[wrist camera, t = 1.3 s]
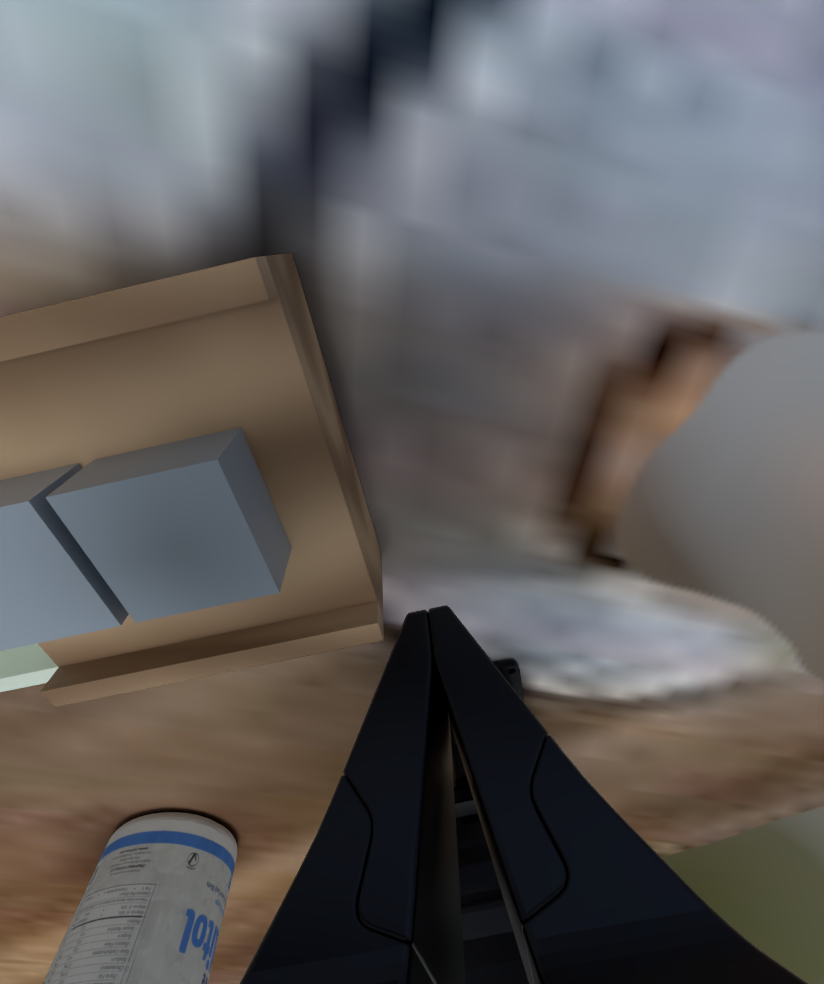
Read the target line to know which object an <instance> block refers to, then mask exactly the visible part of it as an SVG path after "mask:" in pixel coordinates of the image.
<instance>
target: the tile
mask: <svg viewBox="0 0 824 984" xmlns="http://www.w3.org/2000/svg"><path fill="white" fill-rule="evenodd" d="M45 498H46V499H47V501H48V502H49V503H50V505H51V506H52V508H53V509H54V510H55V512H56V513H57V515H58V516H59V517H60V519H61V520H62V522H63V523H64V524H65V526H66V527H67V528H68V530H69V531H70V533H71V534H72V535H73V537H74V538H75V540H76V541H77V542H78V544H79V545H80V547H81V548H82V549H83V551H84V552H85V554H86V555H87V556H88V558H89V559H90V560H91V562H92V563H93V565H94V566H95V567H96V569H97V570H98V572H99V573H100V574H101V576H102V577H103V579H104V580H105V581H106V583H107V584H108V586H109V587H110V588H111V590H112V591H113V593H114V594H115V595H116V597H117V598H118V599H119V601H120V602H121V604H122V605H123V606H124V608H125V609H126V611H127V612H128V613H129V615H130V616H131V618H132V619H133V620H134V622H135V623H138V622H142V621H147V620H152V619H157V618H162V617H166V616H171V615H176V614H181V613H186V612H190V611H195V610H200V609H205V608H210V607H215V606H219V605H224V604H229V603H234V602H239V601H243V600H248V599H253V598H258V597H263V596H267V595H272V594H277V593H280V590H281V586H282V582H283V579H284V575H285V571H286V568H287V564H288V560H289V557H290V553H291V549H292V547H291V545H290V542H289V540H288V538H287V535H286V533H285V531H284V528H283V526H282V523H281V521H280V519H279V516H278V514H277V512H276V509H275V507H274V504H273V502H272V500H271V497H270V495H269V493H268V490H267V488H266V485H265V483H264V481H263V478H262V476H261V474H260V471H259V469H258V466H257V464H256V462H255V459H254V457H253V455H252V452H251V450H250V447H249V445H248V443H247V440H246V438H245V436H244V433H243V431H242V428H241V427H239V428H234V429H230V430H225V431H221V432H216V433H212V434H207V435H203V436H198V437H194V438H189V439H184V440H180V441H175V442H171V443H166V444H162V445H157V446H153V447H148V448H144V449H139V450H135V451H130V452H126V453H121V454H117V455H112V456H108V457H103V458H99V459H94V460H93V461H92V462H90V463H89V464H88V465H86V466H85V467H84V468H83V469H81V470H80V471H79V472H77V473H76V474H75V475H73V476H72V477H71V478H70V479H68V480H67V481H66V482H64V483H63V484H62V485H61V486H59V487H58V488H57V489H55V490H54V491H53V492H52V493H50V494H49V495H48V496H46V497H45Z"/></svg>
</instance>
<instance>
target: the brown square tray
mask: <svg viewBox="0 0 824 984" xmlns="http://www.w3.org/2000/svg"><path fill="white" fill-rule="evenodd" d="M239 427H241V428H242V431H243V433H244V436H245V438H246V440H247V443H248V445H249V447H250V450H251V452H252V455H253V457H254V459H255V462H256V464H257V466H258V469H259V471H260V474H261V476H262V478H263V481H264V483H265V485H266V488H267V490H268V493H269V495H270V497H271V500H272V502H273V504H274V507H275V509H276V512H277V514H278V516H279V519H280V521H281V523H282V526H283V528H284V531H285V533H286V535H287V538H288V540H289V542H290V545H291V547H292V549H291V553H290V557H289V560H288V564H287V568H286V571H285V575H284V579H283V582H282V586H281V590H280V593H277V594H272V595H267V596H263V597H258V598H253V599H248V600H243V601H239V602H234V603H229V604H224V605H219V606H215V607H210V608H205V609H200V610H195V611H190V612H186V613H181V614H176V615H171V616H166V617H162V618H157V619H152V620H147V621H142V622H138V623H135V622H134V620H133V619H132V618H131V616H130V615H128V616H127V618H126V619H125V621H124V622H123V624H122V625H121V626H118V627H114V628H109V629H104V630H99V631H94V632H89V633H85V634H80V635H75V636H70V637H65V638H61V639H56V640H51V641H46V642H41V643H37V644H38V645H39V646H40V647H41V648H42V649H43V650H44V651H45V653H46V654H47V655H48V656H49V657H50V658H51V659H52V660H53V661H54V662H55V664H56V665H57V666H58V669H57V670H56V671H55V673H54V674H53V675H52V677H51V678H50V680H49V681H48V682H47V684H46V685H45V686H44V688H43V689H42V690H41V693H42V694H43V695H44V696H45V697H46V698H47V699H48V700H49V701H50V702H51V703H52V704H53V705H54V706H55V707H57V706H62V705H67V704H72V703H77V702H82V701H87V700H91V699H96V698H101V697H106V696H111V695H116V694H121V693H126V692H131V691H136V690H141V689H146V688H151V687H156V686H161V685H166V684H170V683H175V682H180V681H185V680H190V679H195V678H200V677H205V676H210V675H215V674H220V673H225V672H230V671H235V670H240V669H245V668H250V667H254V666H259V665H264V664H269V663H274V662H279V661H284V660H289V659H294V658H299V657H304V656H309V655H314V654H319V653H324V652H329V651H333V650H338V649H343V648H348V647H353V646H358V645H363V644H368V643H373V642H378V641H383V640H384V633H383V591H382V554H381V551H380V547H379V544H378V541H377V537H376V534H375V531H374V527H373V524H372V520H371V517H370V514H369V510H368V507H367V504H366V500H365V497H364V494H363V490H362V487H361V483H360V480H359V477H358V473H357V470H356V467H355V463H354V460H353V457H352V453H351V450H350V447H349V443H348V440H347V436H346V433H345V430H344V426H343V423H342V420H341V416H340V413H339V410H338V406H337V403H336V399H335V396H334V393H333V389H332V386H331V383H330V379H329V376H328V373H327V369H326V366H325V363H324V359H323V356H322V352H321V349H320V346H319V342H318V339H317V336H316V332H315V329H314V326H313V322H312V319H311V315H310V312H309V309H308V305H307V302H306V299H305V295H304V292H303V289H302V285H301V282H300V279H299V275H298V272H297V268H296V265H295V262H294V258H293V255H292V253H286V254H277V255H269V256H260V257H253V258H249V259H245V260H241V261H236V262H232V263H228V264H224V265H219V266H215V267H211V268H207V269H202V270H198V271H194V272H190V273H185V274H181V275H177V276H173V277H168V278H164V279H160V280H155V281H151V282H147V283H143V284H138V285H134V286H130V287H126V288H121V289H117V290H113V291H109V292H104V293H100V294H96V295H92V296H87V297H83V298H79V299H75V300H70V301H66V302H62V303H57V304H53V305H49V306H45V307H40V308H36V309H32V310H28V311H23V312H19V313H15V314H11V315H6V316H2V317H0V480H4V479H8V478H13V477H17V476H22V475H27V474H31V473H36V472H40V471H45V470H49V469H54V468H58V467H63V466H67V465H72V464H76V463H80V464H81V465H82V467H83V468H84V467H85V466H86V465H88V464H89V463H90V462H92V461H93V460H94V459H99V458H103V457H108V456H112V455H117V454H121V453H126V452H130V451H135V450H139V449H144V448H148V447H153V446H157V445H162V444H166V443H171V442H175V441H180V440H184V439H189V438H194V437H198V436H203V435H207V434H212V433H216V432H221V431H225V430H230V429H234V428H239Z"/></svg>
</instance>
